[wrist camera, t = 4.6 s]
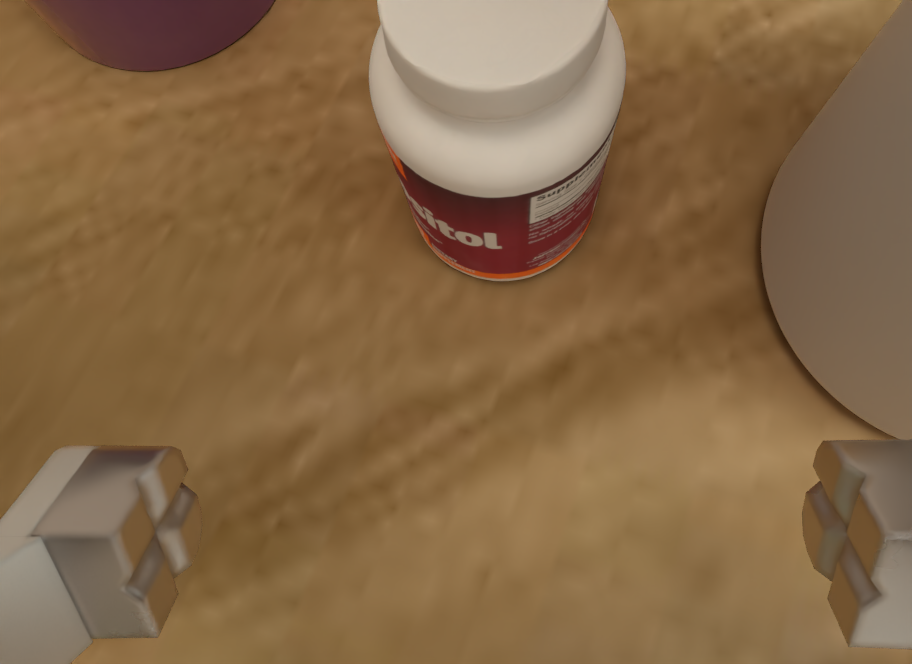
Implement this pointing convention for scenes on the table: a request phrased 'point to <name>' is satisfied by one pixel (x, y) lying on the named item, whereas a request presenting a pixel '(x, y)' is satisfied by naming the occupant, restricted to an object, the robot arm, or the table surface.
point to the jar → (149, 28)
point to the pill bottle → (498, 123)
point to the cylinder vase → (851, 236)
